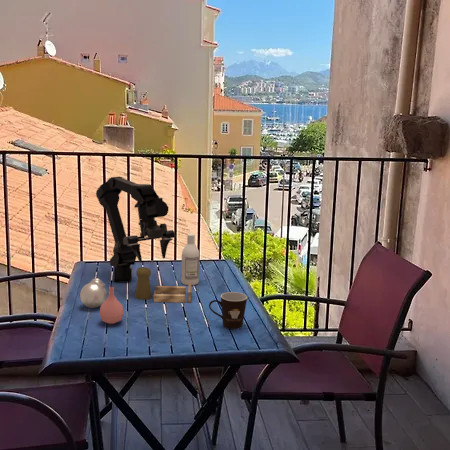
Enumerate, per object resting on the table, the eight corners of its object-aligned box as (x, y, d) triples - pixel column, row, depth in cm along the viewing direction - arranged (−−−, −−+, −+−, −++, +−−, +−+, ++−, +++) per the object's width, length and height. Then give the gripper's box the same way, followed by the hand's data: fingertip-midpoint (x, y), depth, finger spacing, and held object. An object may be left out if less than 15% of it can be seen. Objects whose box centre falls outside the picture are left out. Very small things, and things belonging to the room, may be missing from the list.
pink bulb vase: (128, 321, 184) (128, 286, 182) (114, 329, 177) (114, 293, 175) (108, 316, 187) (108, 282, 185) (94, 324, 180) (94, 288, 178)
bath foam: (202, 283, 224) (203, 235, 220) (187, 286, 220) (189, 237, 216) (191, 279, 230) (193, 231, 225) (177, 282, 225) (178, 233, 221)
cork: (135, 293, 210) (135, 265, 207) (151, 294, 210) (152, 265, 208) (134, 299, 204) (134, 270, 202) (151, 299, 204) (151, 270, 202)
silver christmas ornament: (111, 308, 194) (111, 281, 192) (84, 313, 189) (84, 285, 187) (103, 300, 202) (102, 274, 199) (77, 304, 197) (76, 277, 195)
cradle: (152, 301, 202) (152, 291, 201) (154, 292, 212) (154, 282, 212) (190, 302, 203) (191, 292, 202) (190, 292, 213) (191, 282, 212)
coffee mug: (249, 322, 187) (250, 294, 185) (241, 332, 179) (242, 302, 177) (216, 317, 190) (217, 289, 188) (207, 326, 182) (208, 297, 180)
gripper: (130, 221, 196) (136, 265, 196) (178, 214, 205) (184, 256, 206) (120, 222, 205) (125, 264, 206) (166, 215, 215) (171, 256, 215)
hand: (152, 260), depth 208 cm, fingers open, 9 cm apart
